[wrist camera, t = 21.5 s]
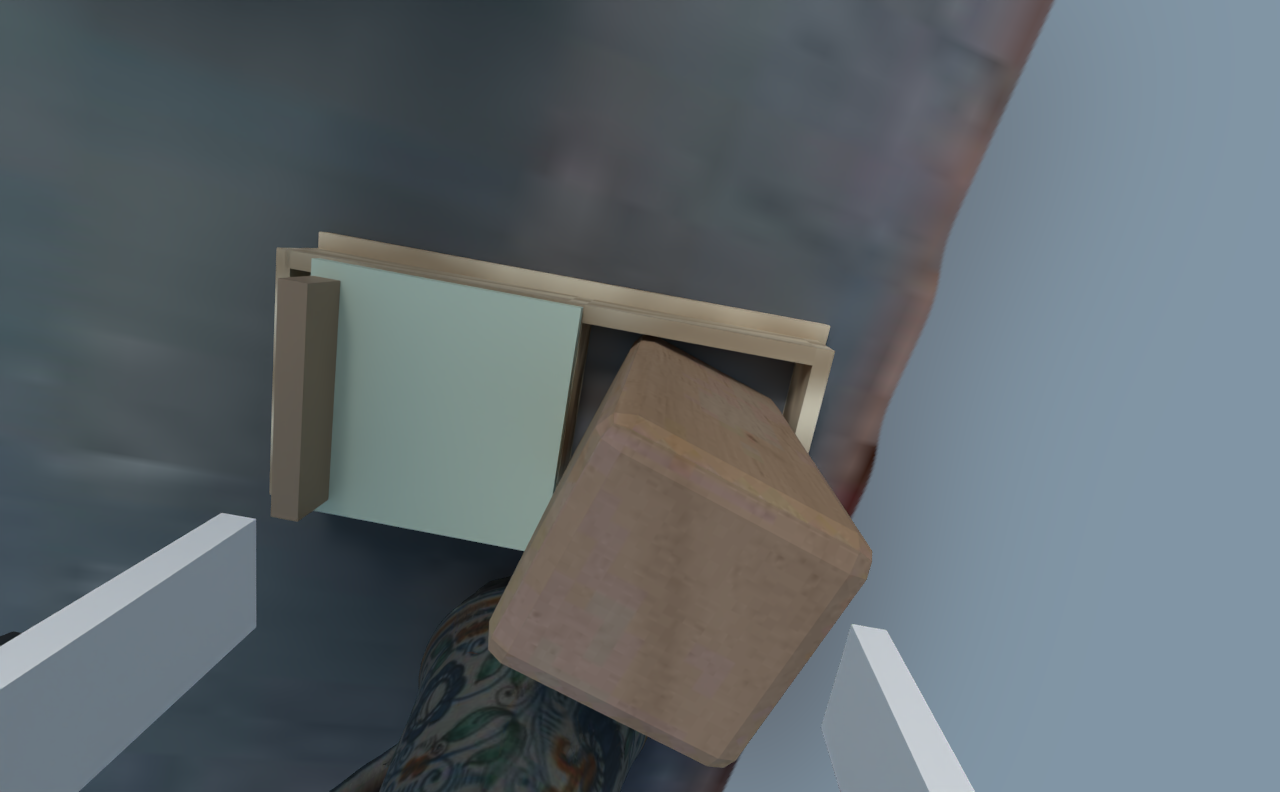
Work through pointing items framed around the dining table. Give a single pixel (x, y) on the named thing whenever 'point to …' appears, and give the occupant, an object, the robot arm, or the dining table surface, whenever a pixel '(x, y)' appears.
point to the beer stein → (495, 724)
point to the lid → (419, 402)
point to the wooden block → (681, 560)
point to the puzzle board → (617, 329)
